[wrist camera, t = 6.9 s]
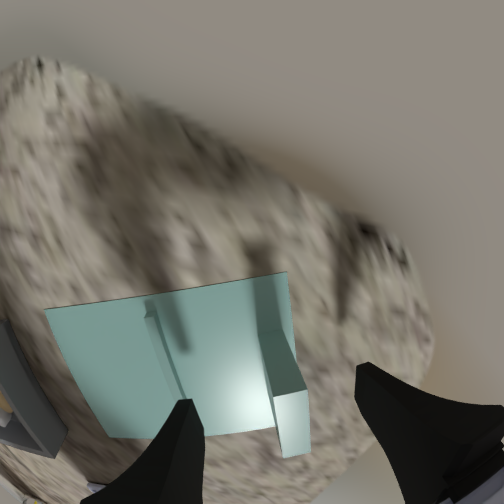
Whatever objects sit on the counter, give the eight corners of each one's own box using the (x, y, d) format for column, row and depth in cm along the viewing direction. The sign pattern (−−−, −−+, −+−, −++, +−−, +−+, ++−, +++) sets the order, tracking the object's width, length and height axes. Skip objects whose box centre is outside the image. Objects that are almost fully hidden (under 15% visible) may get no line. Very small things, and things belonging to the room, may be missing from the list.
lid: (299, 415, 15) (321, 476, 10) (110, 432, 15) (92, 487, 10) (284, 268, 13) (318, 316, 8) (48, 306, 12) (-4, 350, 7)
